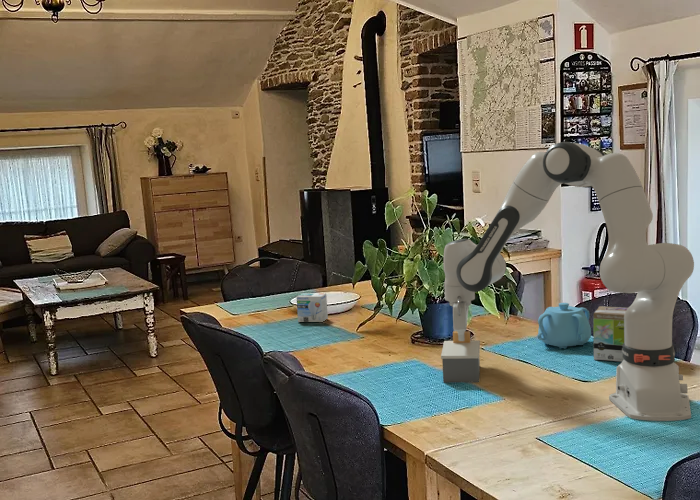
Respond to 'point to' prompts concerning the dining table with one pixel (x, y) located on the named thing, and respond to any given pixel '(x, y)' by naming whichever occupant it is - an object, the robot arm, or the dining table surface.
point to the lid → (461, 347)
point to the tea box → (608, 333)
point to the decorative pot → (564, 326)
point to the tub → (461, 370)
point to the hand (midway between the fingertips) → (461, 339)
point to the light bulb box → (312, 307)
